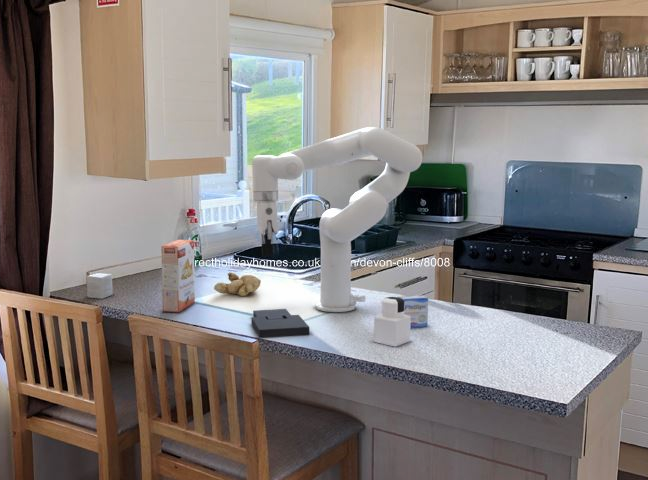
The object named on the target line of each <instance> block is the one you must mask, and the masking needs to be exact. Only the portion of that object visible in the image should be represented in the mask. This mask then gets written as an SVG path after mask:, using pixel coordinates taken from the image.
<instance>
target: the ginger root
mask: <svg viewBox="0 0 648 480" xmlns="http://www.w3.org/2000/svg"><path fill="white" fill-rule="evenodd" d="M227 278H228V281H229V282H230V283H226V282H218V283H216V284H214V287H213V289H214V291H216V292H217V293H218V294H223V295H225V294H227V295H229V294H231V295H232V294H233V295H234V294H235V295H238V296H241V297H244V296H248V294H249V293H252V292H256V291H257V290H259V288H260V286H261V284H262V283H261V282H262V281H261V279H260V278H258V277H256V276H254V275H252V274H243V275H242V276H241V277H239V275H237V274H236V273H234V272H231V271H230V272H228V273H227Z"/></svg>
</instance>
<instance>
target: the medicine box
mask: <svg viewBox="0 0 648 480" xmlns="http://www.w3.org/2000/svg"><path fill="white" fill-rule="evenodd" d="M398 297H399V298H401V299H403V300H404V315H409V316H411V324H410V329H413V328H415V329H417V328H426V327H428V323H429V320H428V319H429V316H428V315H429V298H428V297H427V296H426V295H424V294H421V295H419V294H418V295H403V296H401V295H400V296H398Z"/></svg>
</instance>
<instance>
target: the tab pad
mask: <svg viewBox="0 0 648 480" xmlns="http://www.w3.org/2000/svg"><path fill="white" fill-rule="evenodd" d="M285 315H292V314H291V313H290V312H289V311H288V310H287V308H277V309H276V308H273V309H258V310H257V309H256V310H255V309H254V310H253V311H252V317H266V319H267V320H269V319H285Z"/></svg>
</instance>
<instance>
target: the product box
mask: <svg viewBox="0 0 648 480" xmlns="http://www.w3.org/2000/svg"><path fill="white" fill-rule="evenodd" d="M86 294H87V298H90V299H99V300H100V299H102V300H103V299H105V298H109V297H111V296H113V295H114V291H113V275H112V273H100V272H96V273H93V274H90V275H86Z"/></svg>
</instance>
